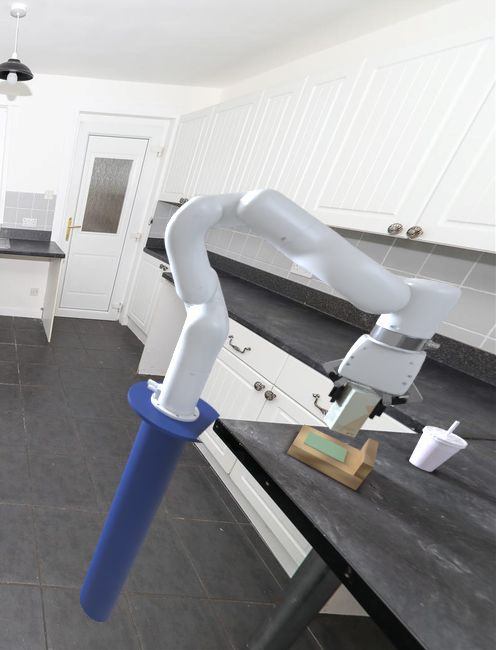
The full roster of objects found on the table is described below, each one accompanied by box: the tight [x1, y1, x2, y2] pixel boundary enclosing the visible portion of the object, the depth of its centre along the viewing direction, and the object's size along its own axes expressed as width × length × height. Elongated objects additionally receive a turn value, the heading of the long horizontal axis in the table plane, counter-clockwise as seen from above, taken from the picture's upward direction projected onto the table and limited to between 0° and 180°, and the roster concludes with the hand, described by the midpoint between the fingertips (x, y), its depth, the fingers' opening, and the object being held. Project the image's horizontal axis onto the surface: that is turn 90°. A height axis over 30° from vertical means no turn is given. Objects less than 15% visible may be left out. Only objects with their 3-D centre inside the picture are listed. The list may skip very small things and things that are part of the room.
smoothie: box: [409, 420, 469, 473], centre depth 78 cm, size 6×6×14 cm
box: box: [323, 381, 382, 438], centre depth 75 cm, size 5×4×11 cm
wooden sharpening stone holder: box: [286, 423, 380, 491], centre depth 79 cm, size 12×13×7 cm
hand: (351, 407), depth 75 cm, fingers closed on box, 5 cm apart
